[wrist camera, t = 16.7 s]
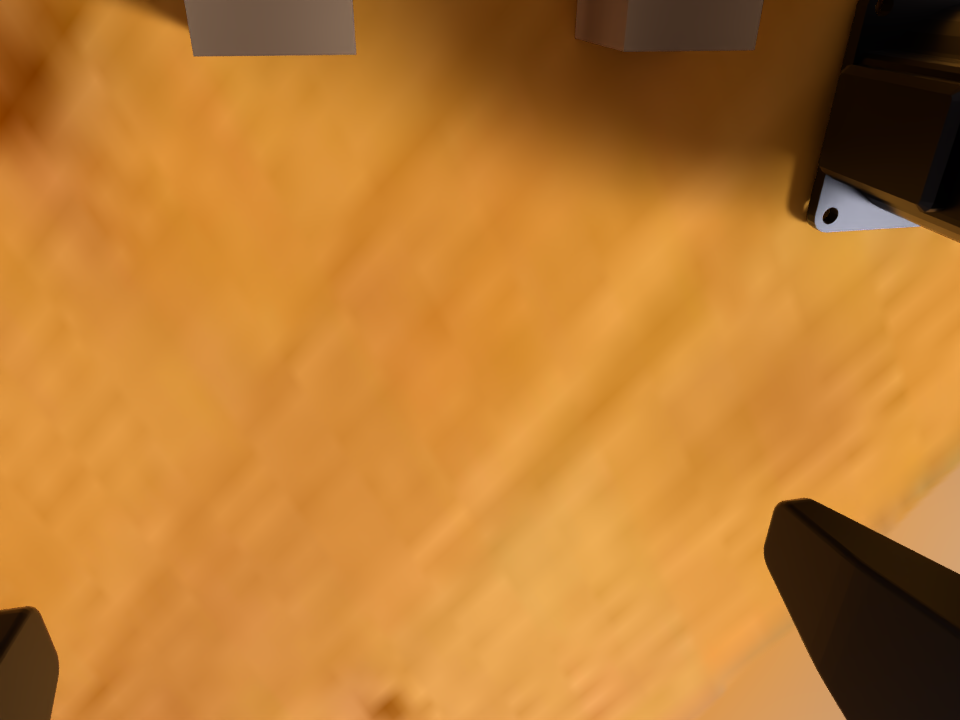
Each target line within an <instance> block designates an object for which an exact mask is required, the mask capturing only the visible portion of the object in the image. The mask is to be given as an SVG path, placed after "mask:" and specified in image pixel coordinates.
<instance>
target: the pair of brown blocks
mask: <svg viewBox="0 0 960 720" xmlns="http://www.w3.org/2000/svg"><path fill="white" fill-rule="evenodd" d="M763 1H764V0H578V1H577V16H576V30H575V38H576V39H580V40H583V41H587V42H590V43H594V44H598V45H601V46H605V47H608V48H612V49H616V50H619V51H623V52H640V51H731V50H755V45H756V39H757V34H758V28H759V23H760V18H761V12H762V7H763ZM184 3H185V9H186V14H187V20H188V26H189V32H190V38H191V43H192V49H193V55H194V56H277V55H356V43H355V28H354V14H353V0H184Z"/></svg>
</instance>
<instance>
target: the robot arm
mask: <svg viewBox="0 0 960 720" xmlns="http://www.w3.org/2000/svg"><path fill="white" fill-rule="evenodd" d="M877 2H878V0H859V1H858V4H857V7H856V11H855V15H854V19H853V23H852V27H851V32H850V36H849V40H848V44H847V48H846V52H845V57H844V61H843V65H842V69H841V73H840V76H839V79H838V83H837V87H836V92H835V96H834V100H833V104H832V108H831V112H830V117H829V121H828V125H827V129H826V133H825V138H824V142H823V146H822V150H821V154H820V158H819V165H818V169H817V173H816V178H815V182H814V186H813V190H812V194H811V198H810V203H809V207H808V211H807V221H808V223H809V225H811V226H812V227H813V228H815V229H817V230H819V231H821V232H839V231H855V230H871V229H887V228H903V227H918V226H922V227H924V228H927V229H929V230H931V231H934V232H936V233H938V234H941V235H943V236H945V237H948V238H950V239H952V240H955V241H957V242H959V243H960V0H883V5H882V8H881V10H880V11H879V12H878V13H877V14H876V12H875V7H876V4H877ZM829 208H830V212H829V214H828V216H827V217H826V218H825V219H823V215H824V212H825V211H826V210H827V209H829ZM764 558H765V562H766V565H767V567H768V570H769V572H770V574H771V576H772V578H773V580H774V582H775V584H776V586H777V588H778V590H779V593H780V595H781V597H782V599H783V601H784V603H785V605H786V607H787V609H788V611H789V613H790V616H791V618H792V620H793V622H794V624H795V626H796V628H797V630H798V632H799V634H800V636H801V639H802V641H803V643H804V645H805V647H806V649H807V651H808V653H809V655H810V657H811V659H812V661H813V663H814V665H815V667H816V669H817V671H818V672H819V674H820V676H821V678H822V679H823V681H824V683H825V685H826V686H827V688H828V690H829V691H830V693H831V695H832V696H833V698H834V700H835V701H836V703H837V705H838V706H839V708H840V710H841V711H842V713H843V714H844V716H845V718H846V720H960V574H958V573H956V572H954V571H952V570H950V569H948V568H946V567H944V566H942V565H940V564H938V563H936V562H934V561H933V560H931V559H928V558H926V557H925V556H923V555H921V554H919V553H917V552H915V551H913V550H911V549H909V548H907V547H905V546H903V545H901V544H899V543H897V542H895V541H893V540H891V539H889V538H887V537H885V536H883V535H881V534H879V533H877V532H875V531H873V530H871V529H870V528H868V527H866V526H864V525H862V524H860V523H858V522H856V521H854V520H852V519H850V518H848V517H846V516H844V515H842V514H840V513H838V512H836V511H834V510H832V509H830V508H828V507H826V506H824V505H822V504H820V503H818V502H816V501H814V500H812V499H809V498H800V499H793V500H786V501H781V502H779V503H778V504H777V505H776V507H775V508H774V511H773V515H772V518H771V522H770V526H769V529H768V533H767V537H766V540H765V544H764ZM58 675H59V660H58V655H57V652H56V650H55V647H54V645H53V643H52V640H51V638H50V635H49V633H48V631H47V628H46V626H45V623H44V621H43V619H42V616H41V614H40V613H39V611H38V610H37V609H36V608H34V607H30V606H26V607H18V608H11V609H4V610H0V720H50V718H51V713H52V708H53V703H54V697H55V692H56V687H57V681H58Z"/></svg>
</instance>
